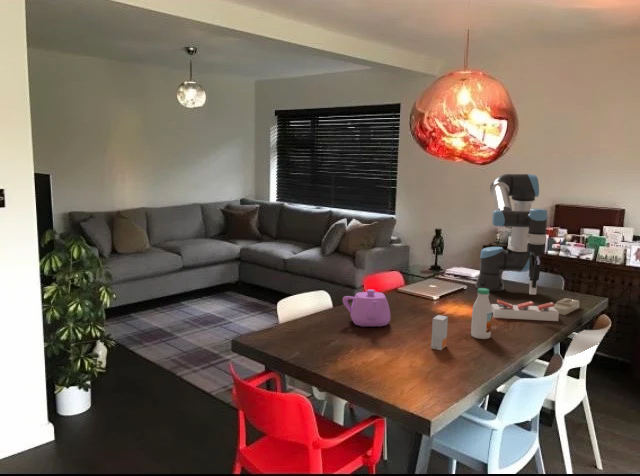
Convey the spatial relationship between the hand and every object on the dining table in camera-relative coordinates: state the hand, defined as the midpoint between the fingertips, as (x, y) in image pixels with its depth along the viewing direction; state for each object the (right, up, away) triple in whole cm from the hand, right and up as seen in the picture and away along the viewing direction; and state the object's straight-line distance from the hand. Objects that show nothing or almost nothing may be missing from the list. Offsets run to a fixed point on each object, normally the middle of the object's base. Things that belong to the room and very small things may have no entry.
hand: (532, 294), depth 241 cm
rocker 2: (-3, -5, +2) cm, 6 cm away
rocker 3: (+6, -5, 0) cm, 8 cm away
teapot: (-75, -12, -9) cm, 77 cm away
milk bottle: (-31, -15, -24) cm, 42 cm away
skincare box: (-51, -17, -37) cm, 65 cm away
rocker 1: (-12, -5, +3) cm, 13 cm away
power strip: (-6, -11, +4) cm, 13 cm away
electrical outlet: (+22, -10, +16) cm, 29 cm away
